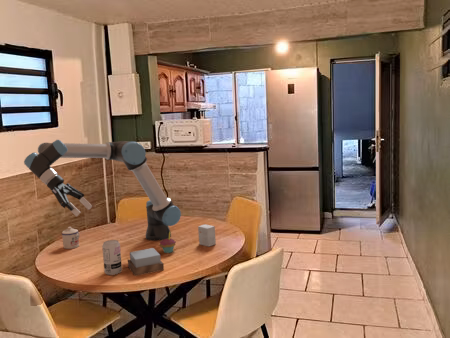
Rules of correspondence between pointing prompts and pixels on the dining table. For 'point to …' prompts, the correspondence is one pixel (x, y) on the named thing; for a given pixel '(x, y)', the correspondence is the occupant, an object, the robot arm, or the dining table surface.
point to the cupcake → (167, 244)
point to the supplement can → (112, 257)
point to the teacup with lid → (70, 238)
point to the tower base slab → (145, 268)
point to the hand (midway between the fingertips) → (84, 211)
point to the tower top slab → (145, 257)
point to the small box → (206, 235)
